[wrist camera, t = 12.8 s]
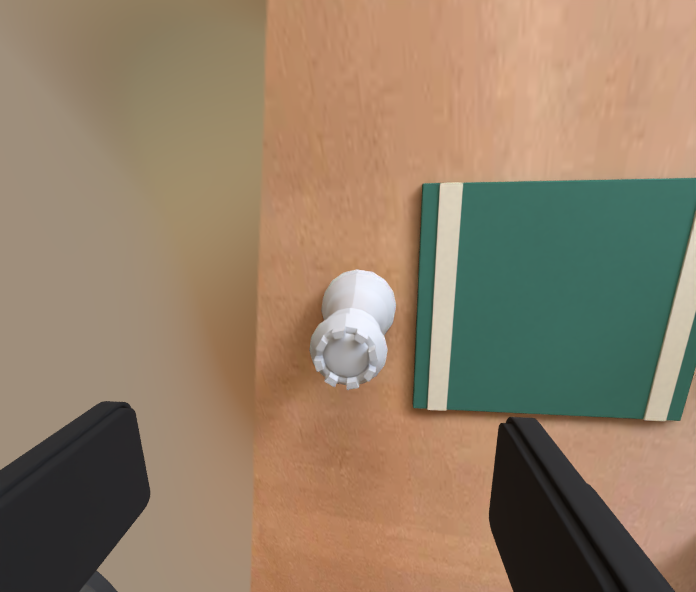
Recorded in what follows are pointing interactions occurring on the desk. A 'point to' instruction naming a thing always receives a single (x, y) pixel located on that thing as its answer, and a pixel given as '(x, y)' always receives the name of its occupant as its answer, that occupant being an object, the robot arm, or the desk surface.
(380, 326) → the rook chess piece
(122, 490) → the robot arm
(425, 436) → the desk surface
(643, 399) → the towel
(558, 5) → the desk surface
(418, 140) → the desk surface
